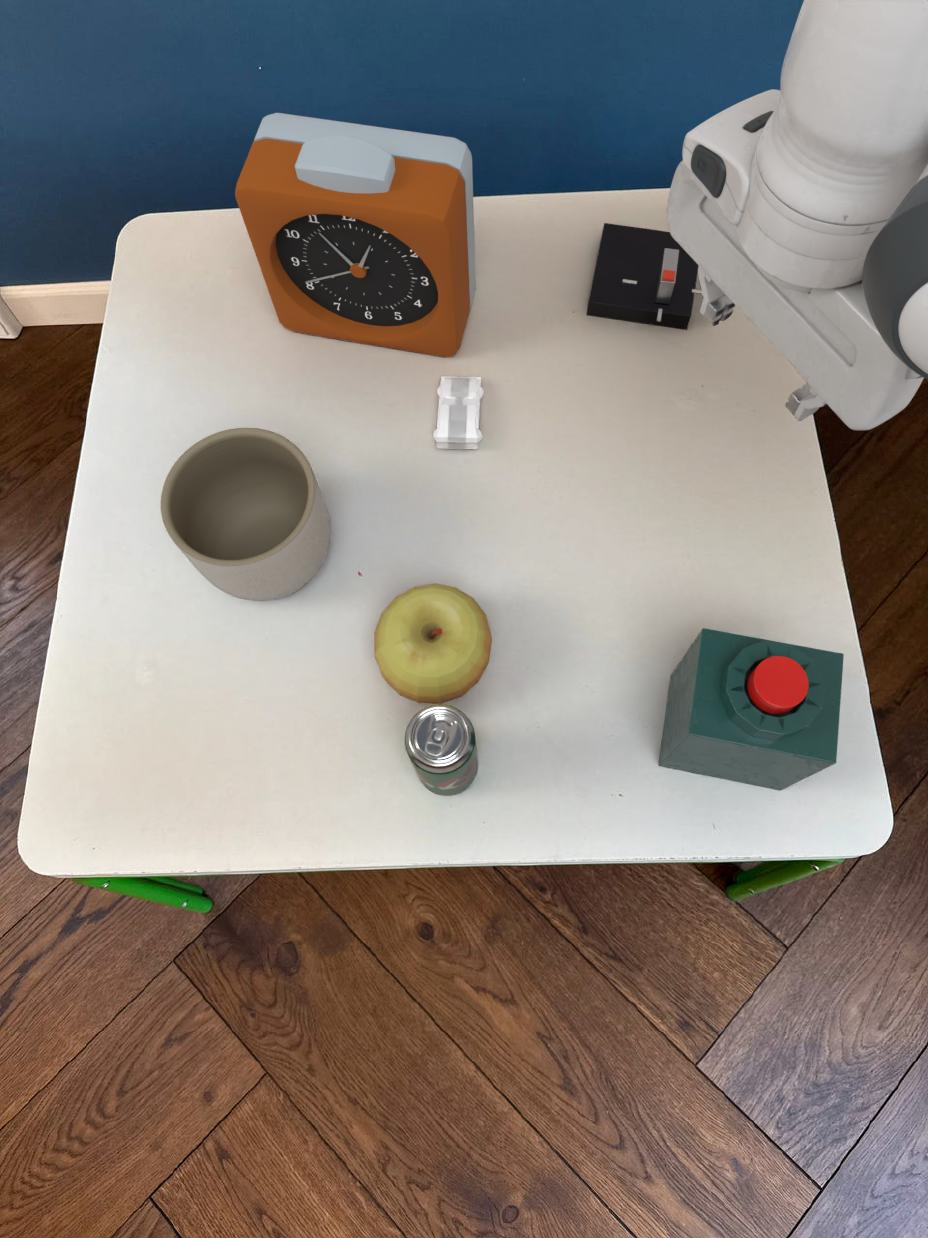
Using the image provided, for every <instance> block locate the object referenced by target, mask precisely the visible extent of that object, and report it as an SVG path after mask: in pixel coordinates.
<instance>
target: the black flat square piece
mask: <svg viewBox="0 0 928 1238" xmlns="http://www.w3.org/2000/svg"><path fill="white" fill-rule="evenodd" d="M665 248H668V249H677V250H679V256H678V264H677V272H676V281H675V285H674V289H673V293H672V296H671V300H670V304H662V303H655V298H656V291H657V283H658V276H659V269H660V265H661V261H662V257H663V253H664V249H665ZM698 267H699V265H698V264H697V263H696V262H695V261H694V260H693V259H692V258H691V257H690V255H689V254H688V253H687V252H686V251H685V250H684V249H683V248H682V247H681V246H680V245H679V244H678V243H677V242H676V241H675V240H674V238H673V237H672V236H671V234H670V232H669V231H665V230H659V229H651V228H645V227H644V228H643V227H638V226H631V225H630V226H629V225H622V224H615V223H608V222H604V223H603V227H602V232H601V237H600V241H599V247H598V252H597V257H596V262H595V267H594V271H593V277H592V282H591V287H590V291H589V298H588V301H587V309H586V316H590V317H598V318H603V319H609V320H617V321H624V322H628V323H629V322H630V323H635V324H636V323H637V324H643V325H649V326H657V327H663V328H670V329H676V330H677V329H678V330H683V331H687V330H688V327H689V324H690V321H691V318H692V313H693V306H694V301H695V294H696V295H702V290H701V289H696V287H697V286H696V285H697V279H698Z"/></svg>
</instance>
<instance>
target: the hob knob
mask: <svg viewBox="0 0 928 1238" xmlns="http://www.w3.org/2000/svg"><path fill="white" fill-rule="evenodd" d="M678 256H679V250H677V249H668V248H665V249H664V253H663V257H662V261H661V265H660V269H659V276H658V283H657V291H656V298H655V303H662V304H670V300H671V296H672V293H673V289H674V285H675V281H676V272H677V264H678Z"/></svg>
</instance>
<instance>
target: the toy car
mask: <svg viewBox="0 0 928 1238" xmlns="http://www.w3.org/2000/svg"><path fill="white" fill-rule="evenodd" d="M436 395H437V397H438V409H437V421H436V428H435V430H434V431H433V433H432V437H433V439H434V442H435V445H436V447H435V448H436V449H450V450H452V449H453V450H479V443H480V442H481V441H482V439H483V434H484V433H483V431H482V430H481V429H480V414H481V399H482V398H483V397H484V395H485V389H484V387H482V376H453V375H452V376H451V375H450V376H449V375H447V376H445V375H444V376H443V375H441V376H440V384H439V386H438V387H437V388H436Z"/></svg>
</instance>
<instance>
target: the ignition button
mask: <svg viewBox="0 0 928 1238" xmlns="http://www.w3.org/2000/svg"><path fill="white" fill-rule="evenodd" d="M808 687H809V683H808V678H807V675H806V673H805V671H804V669H803V668H802V667H801V666H800V665H799V664H798V663H797V662H796V661H794V660H792V659H790V658H788V657H784V656H773V657H769V658H767V659H765V660H763V661H762V662H761V663H760V664H759V665H758V666H757V667H756V668H755V669H754V670H753V671H752V672H751V674H750V676H749V678H748V682H747V689H748V693H749V696H750V698H751V700H752V701H753V702H754V704H755V705H756V706H758V707H759V708H760V709H762V710H764V711H766V712H769V713H774V714H780V713H785V712H787V711H789V710H791V709H792V708H794V707H795V706H796V705H798V704H799V703H800V702H801V701H802V700H803V699H804V698H805V696H806V694H807V692H808Z"/></svg>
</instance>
